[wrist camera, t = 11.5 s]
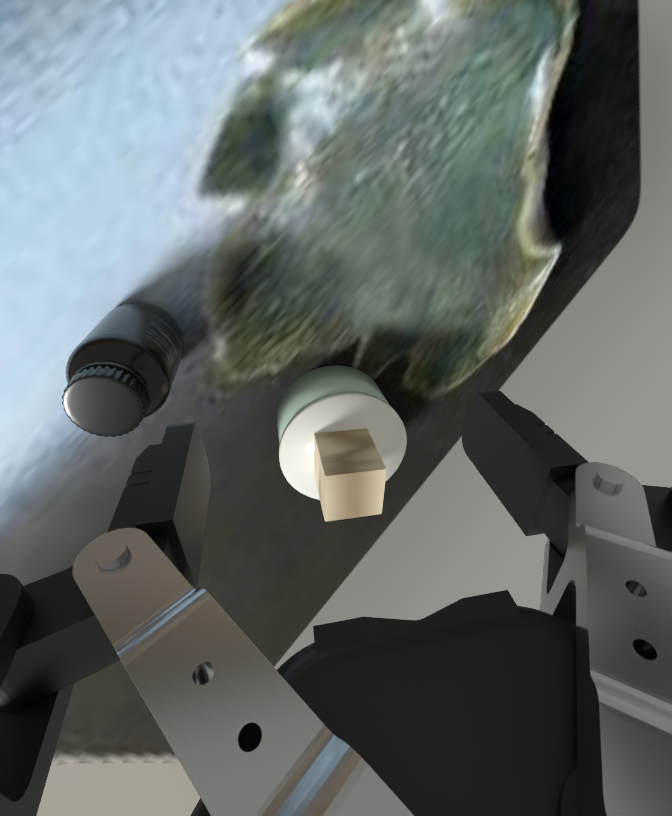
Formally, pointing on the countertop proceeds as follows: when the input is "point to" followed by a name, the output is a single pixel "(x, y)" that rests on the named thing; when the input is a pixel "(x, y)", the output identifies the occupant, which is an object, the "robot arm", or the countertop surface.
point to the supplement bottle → (122, 370)
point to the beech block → (348, 474)
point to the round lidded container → (334, 420)
